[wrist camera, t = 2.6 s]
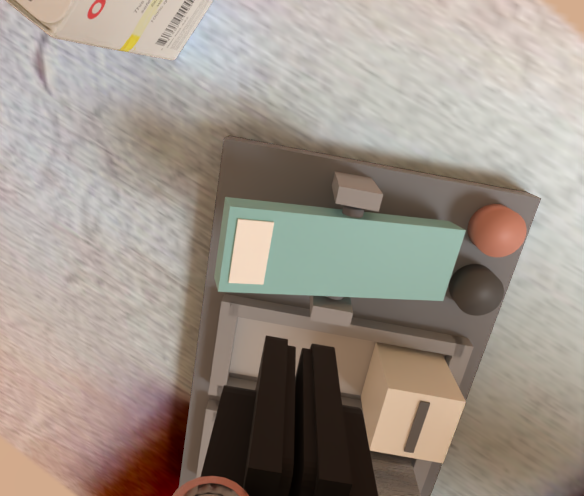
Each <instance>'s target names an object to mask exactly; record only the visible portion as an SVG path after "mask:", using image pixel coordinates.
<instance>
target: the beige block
mask: <svg viewBox="0 0 584 496" xmlns="http://www.w3.org/2000/svg"><path fill="white" fill-rule="evenodd" d="M370 454H371V459H372V465H373V470H374V475H375V480H376V486H377V491H378V496H421V495H420V492H419V488H418V484H417V481H416V477H415V473H414V470H413V466H412V462H411V459H410V458H409V457H404V456H398V455H392V454H386V453H381V452H375V451H370Z"/></svg>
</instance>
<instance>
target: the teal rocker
mask: <svg viewBox="0 0 584 496" xmlns="http://www.w3.org/2000/svg"><path fill="white" fill-rule="evenodd" d="M465 232H466V230H465V229H463V228H461V227H459V226H457V225H455V224H454V223H452V222H450V221H445V220H436V219H426V218H417V217H408V216H399V215H389V214H380V213H371V212H364V210H363V209H361V208H357V207H351V206H346V205H345V206H343V209H333V208H324V207H315V206H305V205H296V204H287V203H278V202H268V201H259V200H250V199H240V198H231V197H225V202H224V209H223V216H222V224H221V231H220V239H219V246H218V253H217V261H216V268H215V275H214V279H215V282H216V286H217V289H218V292H239V293H263V294H287V295H311V296H326V297H328V298H330V299H334V300H340V299H343V297H359V298H383V299H407V300H431V301H443V300H444V297H445V294H446V291H447V288H448V284H449V281H450V278H451V275H452V272H453V269H454V266H455V263H456V260H457V257H458V254H459V250H460V247H461V244H462V241H463V238H464V235H465Z"/></svg>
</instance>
